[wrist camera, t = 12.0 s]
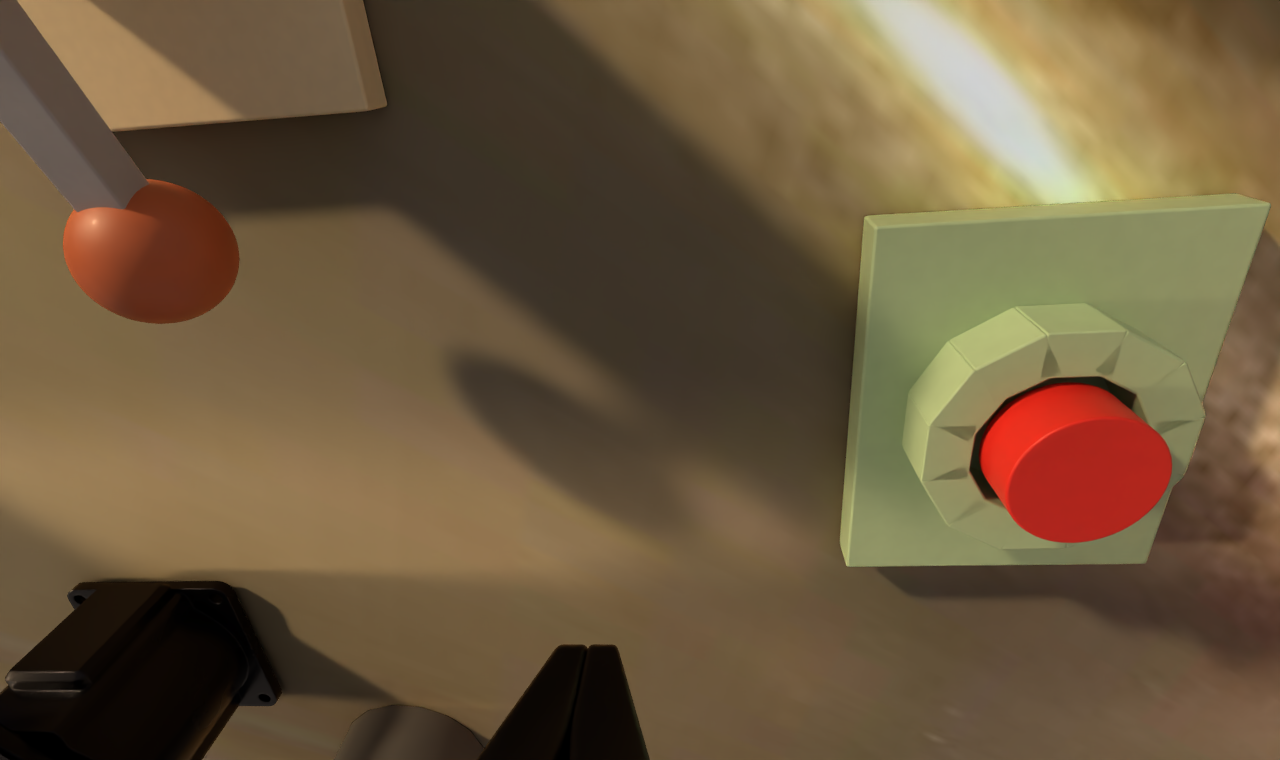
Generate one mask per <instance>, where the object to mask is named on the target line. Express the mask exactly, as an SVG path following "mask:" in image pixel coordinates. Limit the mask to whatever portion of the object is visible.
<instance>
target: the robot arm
mask: <svg viewBox="0 0 1280 760" xmlns="http://www.w3.org/2000/svg"><path fill="white" fill-rule="evenodd" d="M67 597H68V599H69V601H70V603H71V604H72V606H73V608H74V609H75V610H74V611H73V612H72V613H71V614H70V615H69V616H68V617H67V618H66V619H64V620H63V621H62V622H61V623H60V624H59V625H58V626H57V627H56V628H55V629H54V630H53V631H51V632H50V633H49V634H48V635H47V636H46V637H45V638H44V639H43V640H42V641H41V642H40V643H39V644H37V645H36V646H35V647H34V648H33V649H32V650H31V651H30V652H29V653H28V654H27V655H26V656H24V657H23V658H22V659H21V660H20V661H19V662H18V663H17V664H16V665H15V666H14V667H13V668H12V669H11V670H10V671H9V672H8V674H7V675H6V677H5V681H6V682H7V684H8V686H7V687H6V688H5V689H4V690H3V691H2V692H1V693H0V760H202V759H203V758H204V756H205V755H206V753H207V752H208V750H209V749H210V747H211V746H212V744H213V743H214V741H215V740H216V738H217V737H218V735H219V734H220V732H221V731H222V730H223V728H224V727H225V725H226V724H227V722H228V721H229V719H230V718H231V716H232V715H233V713H234V712H235V710H236V709H237V707H238V706H273V705H274V704H276V702H277V701H278V699H279V697H280V696H281V694H282V690H281V688H280V686H279V683H278V681H277V679H276V677H275V675H274V673H273V671H272V669H271V667H270V665H269V662H268V660H267V658H266V656H265V654H264V652H263V650H262V648H261V646H260V644H259V641H258V639H257V637H256V635H255V633H254V631H253V629H252V627H251V625H250V623H249V621H248V618H247V616H246V614H245V612H244V610H243V608H242V606H241V604H240V602H239V600H238V597H237V595H236V593H235V591H234V590H233V588H232V587H231V586H229V585H228V584H226V583H224V582H220V581H178V582H83V583H79V584H78V585H76V586H75V587H74V588H73V589H72V590H71V591H70V592H69V593H68V595H67ZM476 760H650V759H649V756H648V752H647V749H646V745H645V742H644V738H643V735H642V731H641V728H640V724H639V721H638V717H637V714H636V710H635V707H634V703H633V700H632V696H631V693H630V689H629V686H628V682H627V679H626V675H625V672H624V668H623V665H622V661H621V658H620V654H619V651H618V648H617V647H616V646H615V645H591V646H589V648H587V647H586V646H585V645H569V644H564V645H560V646H558V647H557V648H556V649H555V650H554V652H553V653H552V654H551V656H550V657H549V659H548V660H547V661H546V663H545V664H544V666H543V667H542V668H541V670H540V671H539V673H538V674H537V675H536V677H535V678H534V680H533V681H532V682H531V684H530V685H529V687H528V688H527V689H526V691H525V692H524V694H523V695H522V696H521V698H520V699H519V701H518V702H517V703H516V705H515V706H514V708H513V709H512V710H511V712H510V713H509V715H508V716H507V717H506V719H505V720H504V722H503V723H502V724H501V726H500V727H499V729H498V730H497V731H496V733H495V734H494V736H493V737H492V738H491V740H490V741H489V743H488V744H487V745H486V747H485V748H484V750H483V751H482V752H481V754H480V755H479V757H478V758H477V759H476Z"/></svg>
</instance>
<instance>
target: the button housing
mask: <svg viewBox="0 0 1280 760" xmlns="http://www.w3.org/2000/svg"><path fill="white" fill-rule="evenodd" d="M1270 208H1271V204H1270V203H1268V202H1264V201H1261V200H1257V199H1254V198H1250V197H1247V196H1243V195H1239V194H1236V193H1232V194H1215V195H1199V196H1182V197H1166V198H1149V199H1133V200H1116V201H1100V202H1083V203H1067V204H1050V205H1034V206H1017V207H1001V208H984V209H968V210H951V211H935V212H918V213H902V214H885V215H869V216H865V218H864V224H863V238H862V251H861V264H860V278H859V291H858V304H857V318H856V331H855V344H854V358H853V371H852V384H851V397H850V411H849V424H848V437H847V451H846V464H845V477H844V491H843V504H842V517H841V531H840V546H841V549H842V552H843V556H844V559H845V562H846V565H847V566H848V567H884V566H977V565H1070V564H1144V563H1146V561H1147V559H1148V556H1149V553H1150V550H1151V547H1152V544H1153V542H1154V539H1155V536H1156V533H1157V530H1158V527H1159V524H1160V522H1161V519H1162V516H1163V513H1164V510H1165V507H1166V504H1167V502H1168V499H1169V496H1170V493H1171V490H1172V487H1173V486H1174V485H1175V484H1176V483H1178V482H1179V481H1180V480H1181V479H1182V478H1183V477H1184V475H1183V474H1185V473H1186V471H1187V468H1188V466H1189V463H1190V460H1191V457H1192V454H1193V452H1194V449H1195V446H1196V443H1197V440H1198V438H1199V435H1200V432H1201V429H1202V426H1203V424H1204V421H1205V416H1206V413H1205V410H1204V408H1203V405H1202V402H1203V399H1204V396H1205V393H1206V390H1207V388H1208V385H1209V382H1210V379H1211V376H1212V373H1213V370H1214V368H1215V365H1216V362H1217V359H1218V356H1219V353H1220V350H1221V348H1222V345H1223V342H1224V339H1225V336H1226V333H1227V330H1228V328H1229V325H1230V322H1231V319H1232V316H1233V313H1234V311H1235V308H1236V305H1237V302H1238V299H1239V296H1240V293H1241V291H1242V288H1243V285H1244V282H1245V279H1246V276H1247V273H1248V271H1249V268H1250V265H1251V262H1252V259H1253V256H1254V253H1255V251H1256V248H1257V245H1258V242H1259V239H1260V236H1261V234H1262V231H1263V228H1264V225H1265V222H1266V219H1267V216H1268V214H1269V211H1270ZM1064 382H1077V383H1085V384H1090V385H1094V386H1097V387H1100V388H1102V389H1104V390H1106V391H1108V392H1110V393H1111V394H1113V395H1114V396H1115V397H1116V398H1118V399H1119V400H1120V401H1121V402H1122V403H1123V404H1125V405H1126V406H1127V407H1128V408H1129V409H1131V410H1132V411H1133V412H1134V413H1135V414H1137V415H1138V416H1139V417H1140V418H1141V419H1142V420H1144V421H1145V422H1146V423H1147V424H1148V425H1150V426H1151V427H1152V428H1153V429H1154V430H1155V431H1157V432H1158V433H1159V434H1160V435H1161V436H1162V438H1163V439H1164V440H1165V442H1166V444H1167V445H1168V447H1169V450H1170V454H1171V457H1172V474H1171V478H1170V482H1169V484H1168V486H1167V489H1166V491H1165V492H1164V494H1163V496H1162V497H1161V499H1160V500H1159V501H1158V503H1157V504H1156V505H1155V506H1154V507H1153V508H1152V509H1151V510H1150V511H1149V512H1148V513H1147V514H1146V515H1145V516H1144V517H1142V518H1141V519H1140V520H1139V521H1137V522H1136V523H1134V524H1133V525H1131V526H1129V527H1127V528H1126V529H1124V530H1122V531H1120V532H1117V533H1115V534H1113V535H1110V536H1107V537H1104V538H1101V539H1097V540H1093V541H1087V542H1079V543H1060V542H1053V541H1048V540H1044V539H1041V538H1039V537H1036V536H1034V535H1032V534H1030V533H1028V532H1027V531H1025V530H1024V529H1022V528H1021V527H1020V526H1019V525H1018V524H1017V523H1016V522H1015V521H1014V520H1013V518H1012V517H1011V515H1010V514H1009V512H1008V511H1007V509H1006V508H1005V506H1004V505H1003V503H1002V502H1001V500H1000V499H999V497H998V496H997V494H996V493H995V491H994V490H993V488H992V487H991V486H990V484H989V483H988V481H987V480H986V478H985V477H984V475H983V473H982V470H981V467H980V463H979V447H980V443H981V439H982V436H983V434H984V432H985V430H986V428H987V426H988V425H989V423H990V422H991V420H992V419H993V418H994V416H995V415H996V414H997V413H998V412H999V411H1000V410H1001V409H1002V408H1003V407H1005V406H1006V405H1007V404H1008V403H1010V402H1011V401H1013V400H1014V399H1016V398H1017V397H1019V396H1021V395H1023V394H1024V393H1026V392H1029V391H1031V390H1033V389H1036V388H1039V387H1042V386H1046V385H1050V384H1055V383H1064Z"/></svg>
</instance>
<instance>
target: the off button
mask: <svg viewBox="0 0 1280 760" xmlns="http://www.w3.org/2000/svg"><path fill="white" fill-rule="evenodd" d="M979 463H980V467H981V470H982V473H983V475H984V477H985V478H986V480H987V481H988V483H989V484H990V486H991V487H992V488H993V490H994V491H995V493H996V494H997V496H998V497H999V499H1000V500H1001V502H1002V503H1003V505H1004V506H1005V508H1006V509H1007V511H1008V512H1009V514H1010V515H1011V517H1012V518H1013V520H1014V521H1015V522H1016V523H1017V524H1018V525H1019V526H1020V527H1021V528H1022V529H1024V530H1025V531H1027V532H1028V533H1030V534H1032V535H1034V536H1036V537H1039V538H1041V539H1044V540H1048V541H1053V542H1060V543H1079V542H1087V541H1093V540H1097V539H1101V538H1104V537H1107V536H1110V535H1113V534H1115V533H1117V532H1120V531H1122V530H1124V529H1126V528H1127V527H1129V526H1131V525H1133V524H1134V523H1136V522H1137V521H1139V520H1140V519H1141V518H1142V517H1144V516H1145V515H1146V514H1147V513H1148V512H1149V511H1150V510H1151V509H1152V508H1153V507H1154V506H1155V505H1156V504H1157V503H1158V501H1159V500H1160V499H1161V497H1162V496H1163V494H1164V492H1165V491H1166V489H1167V486H1168V484H1169V482H1170V478H1171V474H1172V457H1171V454H1170V450H1169V447H1168V445H1167V444H1166V442H1165V440H1164V439H1163V438H1162V436H1161V435H1160V434H1159V433H1158V432H1157V431H1155V430H1154V429H1153V428H1152V427H1151V426H1150V425H1148V424H1147V423H1146V422H1145V421H1144V420H1142V419H1141V418H1140V417H1139V416H1138V415H1137V414H1135V413H1134V412H1133V411H1132V410H1131V409H1129V408H1128V407H1127V406H1126V405H1125V404H1123V403H1122V402H1121V401H1120V400H1119V399H1118V398H1116V397H1115V396H1114V395H1113V394H1111V393H1110V392H1108V391H1106V390H1104V389H1102V388H1100V387H1097V386H1094V385H1090V384H1085V383H1077V382H1064V383H1055V384H1050V385H1046V386H1042V387H1039V388H1036V389H1033V390H1031V391H1029V392H1026V393H1024V394H1023V395H1021V396H1019V397H1017V398H1016V399H1014V400H1013V401H1011V402H1010V403H1008V404H1007V405H1006V406H1005V407H1003V408H1002V409H1001V410H1000V411H999V412H998V413H997V414H996V415H995V416H994V418H993V419H992V420H991V422H990V423H989V425H988V426H987V428H986V430H985V432H984V434H983V436H982V439H981V443H980V447H979Z"/></svg>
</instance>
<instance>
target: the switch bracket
mask: <svg viewBox="0 0 1280 760" xmlns="http://www.w3.org/2000/svg"><path fill="white" fill-rule="evenodd" d="M17 1H18V2H19V4H20V5H21V7H22V8H23V9H24V11H25V12H26V14H27V15H28V16H29V18H30V19H31V20H32V22H33V23H34V25H35V26H36V27H37V29H38V30H39V32H40V33H41V34H42V36H43V37H44V38H45V40H46V41H47V43H48V44H49V45H50V47H51V48H52V50H53V51H54V52H55V54H56V55H57V56H58V58H59V59H60V61H61V62H62V63H63V65H64V66H65V68H66V69H67V70H68V72H69V73H70V74H71V76H72V77H73V79H74V80H75V81H76V83H77V84H78V86H79V87H80V88H81V90H82V91H83V92H84V94H85V95H86V97H87V98H88V99H89V101H90V102H91V104H92V105H93V106H94V108H95V109H96V110H97V112H98V113H99V115H100V116H101V117H102V119H103V120H104V122H105V123H106V124H107V126H108V127H109V128H110V130H111V131H112V132H115V131H128V130H140V129H152V128H165V127H177V126H189V125H202V124H214V123H226V122H239V121H251V120H263V119H276V118H288V117H300V116H313V115H325V114H337V113H350V112H362V111H370V110H374V109H379V108H383V107H386V106H387V101H386V97H385V93H384V88H383V84H382V80H381V75H380V71H379V67H378V63H377V58H376V54H375V50H374V45H373V41H372V37H371V32H370V28H369V24H368V20H367V15H366V11H365V7H364V2H363V0H17Z"/></svg>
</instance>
